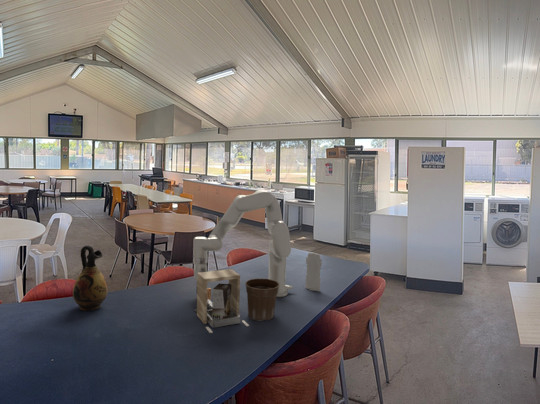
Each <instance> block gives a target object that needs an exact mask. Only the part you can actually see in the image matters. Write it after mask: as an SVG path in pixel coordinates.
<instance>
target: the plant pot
mask: <svg viewBox="0 0 540 404" xmlns="http://www.w3.org/2000/svg"><path fill="white" fill-rule="evenodd" d="M244 283H245V285H244V286H245V287H246V295H247V313H248V314H247V316H248V317H249V319H250V320H253V321H258V322H263V321H265V322H266V321H270V320H272V319H273V318H274V317H275V311H276V310H275V308H276V301H277V297H276V296H277V293H278V287H279V286H280V284H279V283H278V282H277V281H274V280H271V279H268V278H262V277H261V278H260V277H259V278H251V279H248V280H246V281H245V282H244Z"/></svg>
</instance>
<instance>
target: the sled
mask: <svg viewBox="0 0 540 404" xmlns="http://www.w3.org/2000/svg"><path fill="white" fill-rule="evenodd" d="M211 300H212V288H211V287H207V307H209V308H210V309H211V310H207V323H208V324H209V325H210V326H211V328H212V329H214V328H220V327H225V326H231V325H236V324H241V323H242V319H241V315H240V314H239V315H238V314H237V313H236V312H235V311H234V310H233V309H232V308H231V317H230V318H225V319H219V320H213V319H212V301H211Z"/></svg>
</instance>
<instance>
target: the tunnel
mask: <svg viewBox="0 0 540 404" xmlns="http://www.w3.org/2000/svg"><path fill="white" fill-rule="evenodd" d="M221 281H228V284H231V308H232V309H233V310H234V311H235V312H236V313H237V314H238V315H240V300H241V299H240V297H241V295H240V292H241V291H240V290H241V275H240V274H239V273H237V272H236V271H235V270H233V269H232V268H231V269H230V268H229V269H221V270H220V269H219V270H212V271H211V270H210V271H207V272H200V273H197V283H196V295H197V296H196V309H197V312H196V316H197V317H198V318H199V320H200V321H201V322H202V324H204V325H206V324H207V323H208V322H207V307H208V306H207V288H208V283H214V282H221Z"/></svg>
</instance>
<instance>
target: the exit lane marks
mask: <svg viewBox="0 0 540 404" xmlns="http://www.w3.org/2000/svg"><path fill="white" fill-rule="evenodd" d="M241 323H243V325H245V326H246V327H250V324H249V323H247V322H246V320H241ZM205 329H206V330H207V331H208V333H209V334H213V330H212V329H211V328H210V327H209V326H205Z"/></svg>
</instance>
